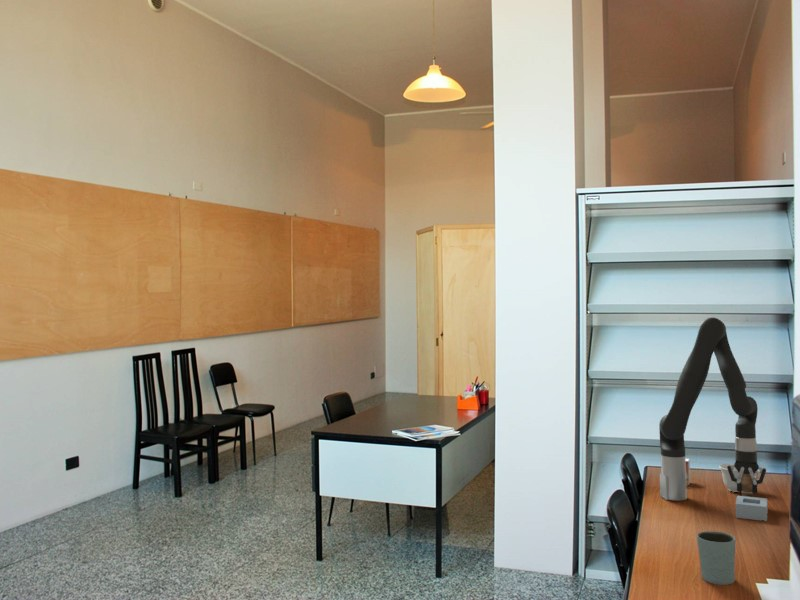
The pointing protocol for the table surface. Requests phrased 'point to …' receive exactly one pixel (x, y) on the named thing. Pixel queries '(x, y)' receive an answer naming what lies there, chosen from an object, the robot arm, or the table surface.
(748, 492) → the walnut peg
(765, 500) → the hole block
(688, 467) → the small box
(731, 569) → the grey-green cup
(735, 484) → the teacup
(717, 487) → the table surface
